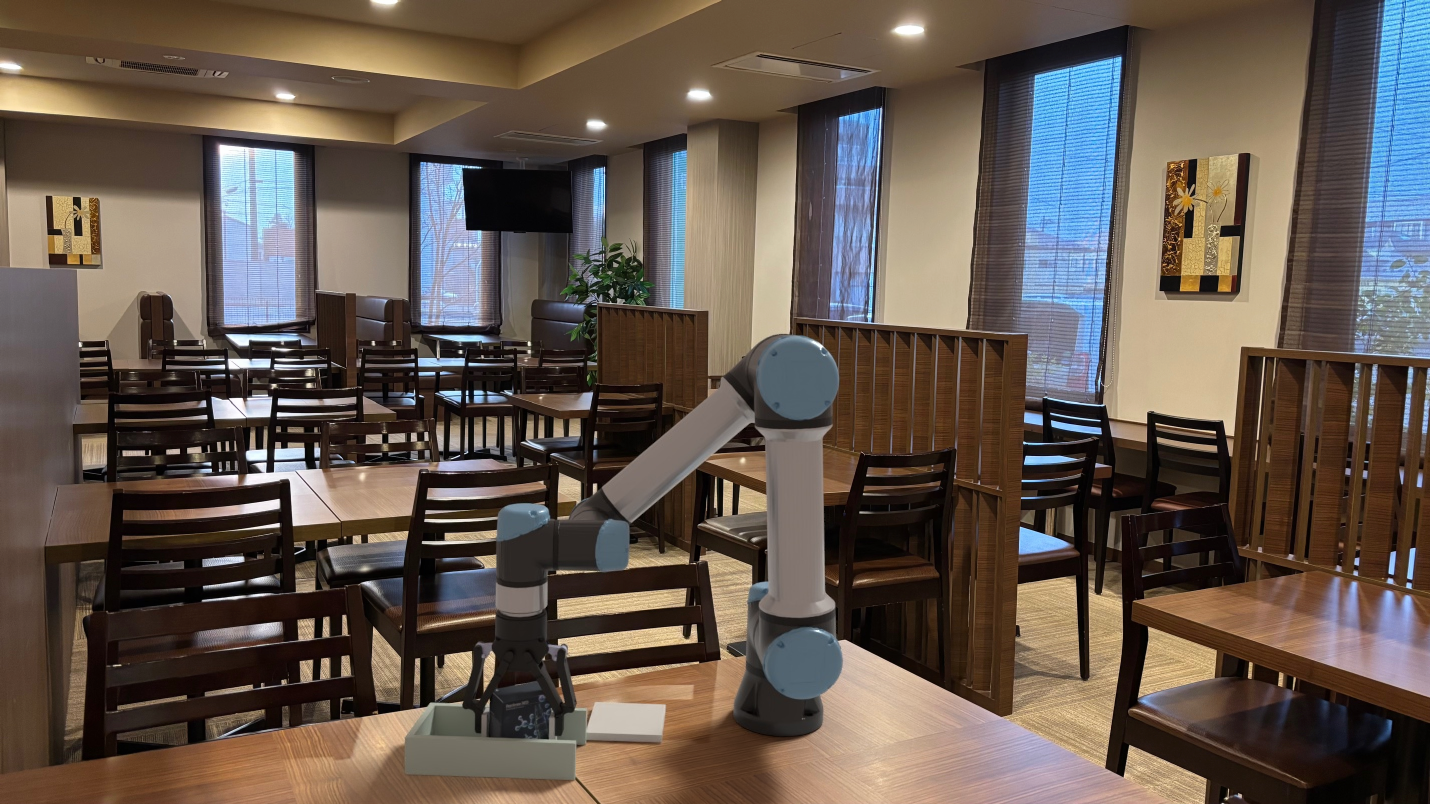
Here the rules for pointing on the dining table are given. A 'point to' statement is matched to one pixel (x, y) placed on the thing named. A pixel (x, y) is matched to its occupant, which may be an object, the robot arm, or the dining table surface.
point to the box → (519, 712)
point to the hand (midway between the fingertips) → (519, 754)
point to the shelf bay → (488, 747)
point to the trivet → (626, 722)
